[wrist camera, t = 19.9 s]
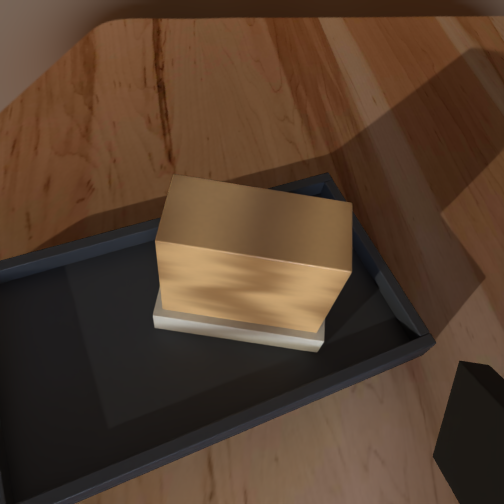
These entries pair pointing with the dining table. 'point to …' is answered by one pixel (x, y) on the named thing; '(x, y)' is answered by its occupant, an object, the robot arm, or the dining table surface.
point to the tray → (161, 362)
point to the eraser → (250, 262)
